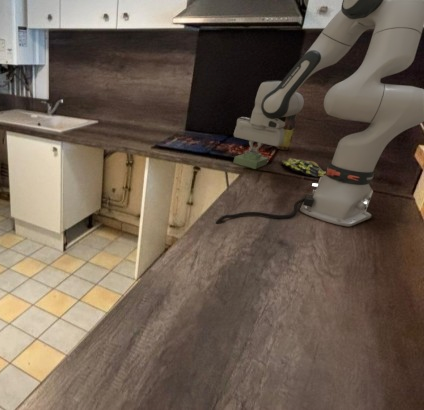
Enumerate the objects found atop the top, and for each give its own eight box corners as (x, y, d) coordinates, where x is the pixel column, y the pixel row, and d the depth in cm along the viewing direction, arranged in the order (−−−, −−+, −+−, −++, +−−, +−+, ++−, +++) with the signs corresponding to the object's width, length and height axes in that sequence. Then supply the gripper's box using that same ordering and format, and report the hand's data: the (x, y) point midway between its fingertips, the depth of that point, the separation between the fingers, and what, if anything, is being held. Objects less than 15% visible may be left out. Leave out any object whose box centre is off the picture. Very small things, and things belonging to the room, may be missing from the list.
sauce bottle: (290, 151, 185) (302, 112, 177) (277, 150, 186) (288, 111, 178) (286, 148, 191) (297, 110, 183) (274, 146, 192) (284, 109, 184)
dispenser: (255, 169, 153) (258, 157, 150) (233, 162, 159) (235, 152, 157) (266, 164, 160) (269, 153, 158) (245, 158, 167) (247, 148, 165)
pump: (254, 158, 156) (255, 153, 155) (245, 155, 158) (246, 151, 157) (258, 156, 158) (259, 152, 157) (249, 154, 161) (250, 150, 160)
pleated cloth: (276, 162, 167) (284, 149, 165) (311, 177, 164) (319, 164, 162) (286, 168, 148) (294, 153, 146) (325, 184, 145) (335, 170, 143)
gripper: (235, 116, 157) (228, 147, 162) (283, 125, 143) (274, 158, 149) (241, 115, 161) (234, 145, 166) (289, 123, 147) (279, 156, 153)
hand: (253, 151), depth 158 cm, fingers closed, pressing on pump
